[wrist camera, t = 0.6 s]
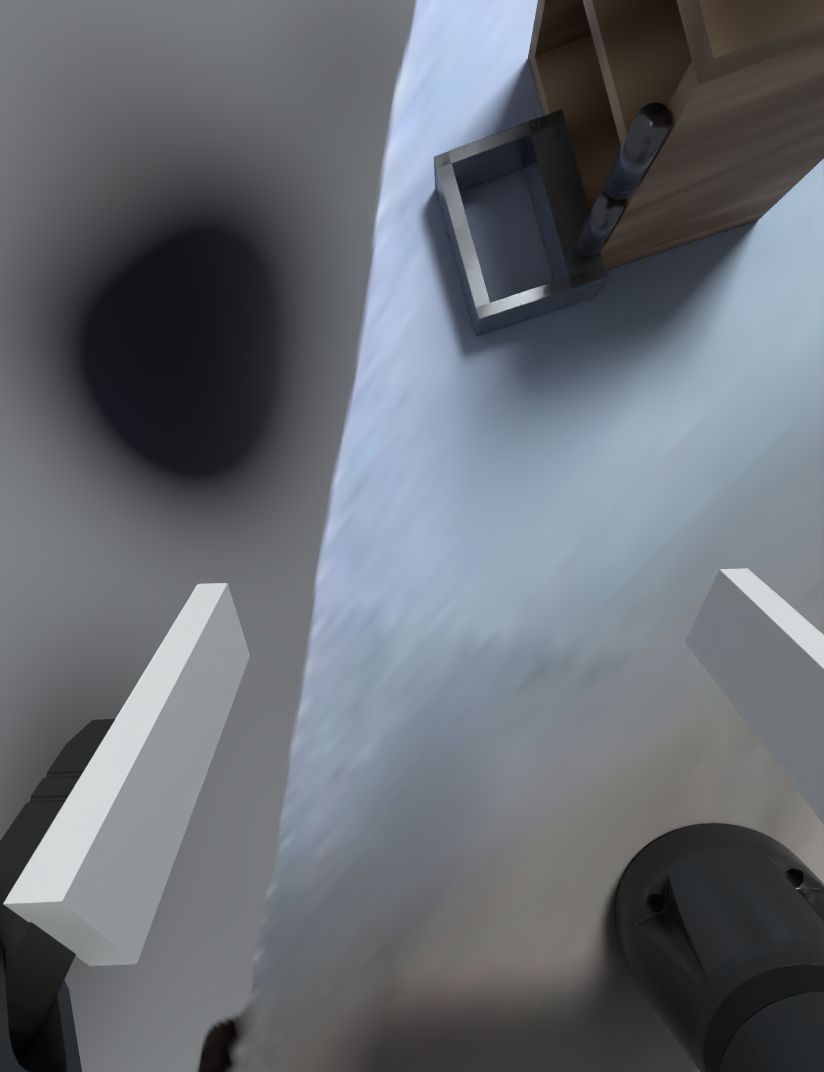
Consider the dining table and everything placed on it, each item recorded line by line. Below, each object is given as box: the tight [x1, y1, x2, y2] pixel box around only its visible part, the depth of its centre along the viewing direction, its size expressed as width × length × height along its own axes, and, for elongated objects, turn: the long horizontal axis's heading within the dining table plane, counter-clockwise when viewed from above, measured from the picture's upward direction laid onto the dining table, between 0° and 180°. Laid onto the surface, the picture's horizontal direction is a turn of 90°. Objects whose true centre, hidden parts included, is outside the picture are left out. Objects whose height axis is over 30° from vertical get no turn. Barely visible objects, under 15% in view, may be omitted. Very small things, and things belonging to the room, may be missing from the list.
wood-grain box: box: [528, 0, 824, 270], centre depth 23 cm, size 16×12×15 cm
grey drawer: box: [434, 103, 672, 336], centre depth 25 cm, size 11×9×12 cm
